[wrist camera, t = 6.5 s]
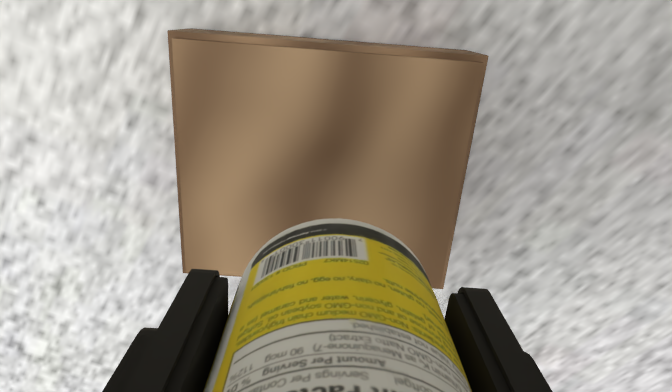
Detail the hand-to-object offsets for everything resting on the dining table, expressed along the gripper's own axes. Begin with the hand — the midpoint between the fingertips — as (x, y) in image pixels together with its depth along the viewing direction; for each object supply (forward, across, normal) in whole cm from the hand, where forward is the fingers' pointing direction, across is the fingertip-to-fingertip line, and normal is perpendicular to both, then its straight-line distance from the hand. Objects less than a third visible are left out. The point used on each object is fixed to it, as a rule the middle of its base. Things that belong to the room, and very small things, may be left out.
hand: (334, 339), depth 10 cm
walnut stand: (+18, 0, +1) cm, 18 cm away
